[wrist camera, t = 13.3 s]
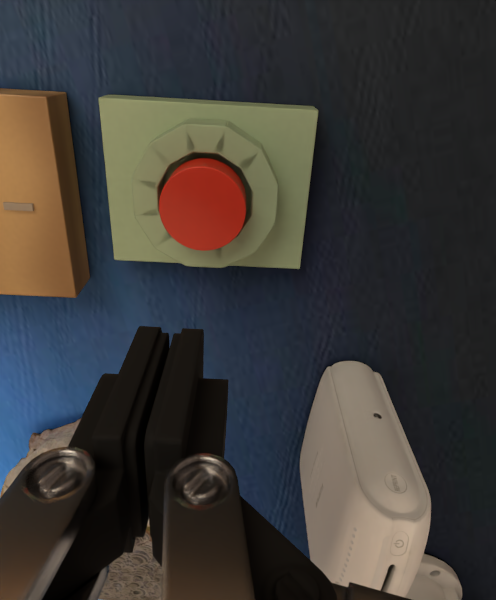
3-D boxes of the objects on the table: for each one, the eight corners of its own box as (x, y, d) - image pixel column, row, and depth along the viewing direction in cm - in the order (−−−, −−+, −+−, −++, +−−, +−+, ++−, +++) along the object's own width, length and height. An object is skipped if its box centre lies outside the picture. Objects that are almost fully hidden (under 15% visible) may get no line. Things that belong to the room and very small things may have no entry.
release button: (248, 159, 20) (248, 168, 19) (244, 239, 22) (244, 253, 21) (163, 155, 20) (156, 163, 19) (166, 235, 22) (160, 249, 21)
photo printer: (321, 353, 29) (364, 532, 18) (386, 361, 29) (465, 541, 19) (291, 464, 34) (311, 656, 23) (347, 470, 34) (392, 662, 24)
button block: (314, 106, 22) (324, 114, 19) (296, 256, 26) (303, 284, 23) (108, 94, 22) (85, 101, 19) (121, 248, 26) (104, 274, 23)
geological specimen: (46, 609, 35) (-21, 485, 27) (75, 532, 40) (25, 409, 32) (185, 612, 34) (159, 487, 26) (195, 534, 39) (176, 410, 31)
